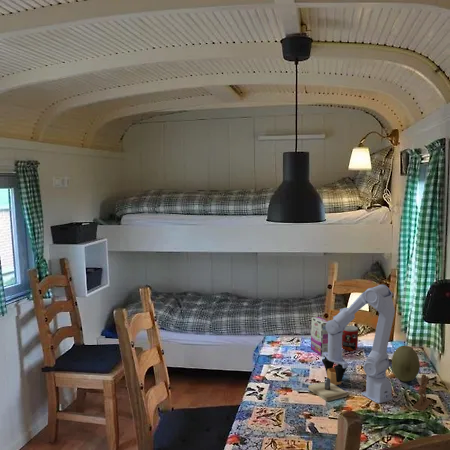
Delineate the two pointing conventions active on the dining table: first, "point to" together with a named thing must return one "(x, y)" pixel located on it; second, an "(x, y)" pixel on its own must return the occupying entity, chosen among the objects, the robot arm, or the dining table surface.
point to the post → (327, 384)
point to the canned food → (350, 339)
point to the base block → (327, 391)
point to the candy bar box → (319, 335)
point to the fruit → (405, 363)
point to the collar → (332, 376)
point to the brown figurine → (423, 401)
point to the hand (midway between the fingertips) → (334, 378)
